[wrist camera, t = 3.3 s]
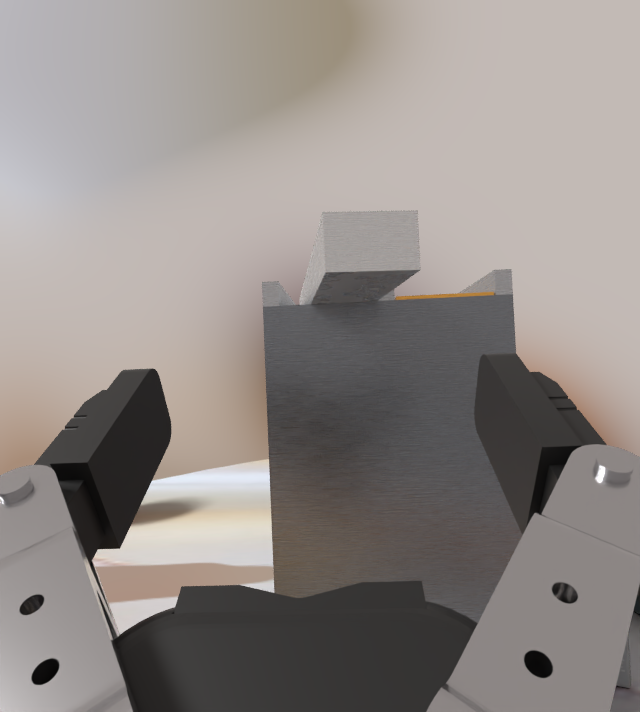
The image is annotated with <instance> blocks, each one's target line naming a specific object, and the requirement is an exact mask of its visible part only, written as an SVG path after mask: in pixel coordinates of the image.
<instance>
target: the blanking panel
mask: <svg viewBox="0 0 640 712" xmlns="http://www.w3.org/2000/svg"><path fill="white" fill-rule="evenodd" d="M418 271H420V251H419V232H418V211H370V212H369V211H368V212H367V211H366V212H365V211H364V212H323V213H322V217H321V220H320V224H319V228H318V232H317V235H316V239H315V243H314V247H313V251H312V254H311V258H310V262H309V265H308V270H307V273H306V277H305V281H304V285H303V288H302V292H301V296H300V305H306V304H326V303H346V302H366V301H378V300H379V299H381V298H382V297H384V296H385V295H386V294H388V293H389V292H390V291H392V290H393V289H395V288H396V287H397V286H399V285H400V284H401V283H403V282H404V281H405V280H407V279H408V278H410V277H411V276H413V275H414V274H415V273H417V272H418Z"/></svg>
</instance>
